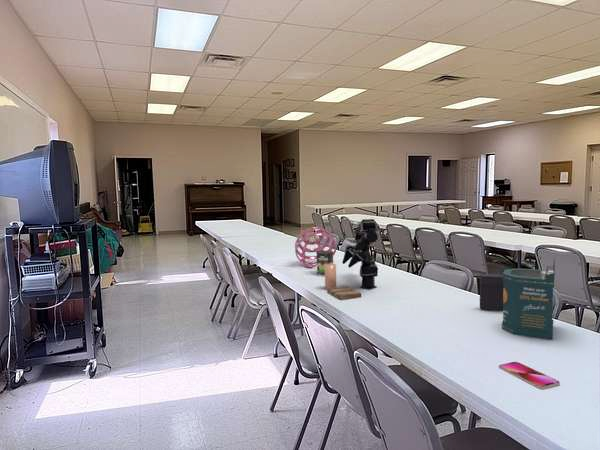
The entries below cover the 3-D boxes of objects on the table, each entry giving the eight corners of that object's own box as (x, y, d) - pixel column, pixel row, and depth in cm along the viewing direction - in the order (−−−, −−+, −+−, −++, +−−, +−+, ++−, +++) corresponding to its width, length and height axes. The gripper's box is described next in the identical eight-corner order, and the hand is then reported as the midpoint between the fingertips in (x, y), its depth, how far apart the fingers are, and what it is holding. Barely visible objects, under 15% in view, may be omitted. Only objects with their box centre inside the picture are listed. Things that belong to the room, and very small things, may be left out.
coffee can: (330, 276, 247) (330, 253, 245) (314, 275, 250) (313, 253, 249) (335, 273, 256) (335, 250, 255) (320, 272, 260) (319, 250, 258)
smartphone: (516, 361, 125) (561, 382, 111) (516, 364, 125) (561, 385, 111) (496, 365, 123) (541, 387, 108) (496, 368, 123) (541, 391, 108)
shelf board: (327, 292, 212) (327, 288, 212) (346, 289, 216) (346, 286, 215) (340, 300, 197) (340, 296, 197) (361, 297, 201) (361, 293, 201)
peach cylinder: (331, 286, 223) (330, 263, 221) (338, 288, 218) (338, 264, 217) (322, 289, 219) (322, 264, 218) (330, 291, 214) (329, 266, 213)
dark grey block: (507, 309, 175) (508, 274, 173) (509, 312, 171) (509, 277, 169) (479, 307, 179) (479, 273, 177) (480, 310, 175) (480, 275, 173)
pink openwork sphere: (336, 241, 257) (327, 214, 277) (293, 253, 258) (287, 225, 279) (343, 270, 275) (335, 243, 296) (303, 281, 276) (297, 253, 297)
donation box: (552, 340, 141) (554, 259, 138) (500, 332, 149) (501, 256, 147) (553, 325, 154) (555, 251, 152) (505, 319, 163) (506, 249, 160)
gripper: (383, 255, 205) (363, 279, 204) (369, 248, 223) (350, 271, 222) (367, 240, 202) (347, 265, 201) (354, 235, 220) (336, 258, 219)
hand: (345, 265), depth 211 cm, fingers open, 9 cm apart
